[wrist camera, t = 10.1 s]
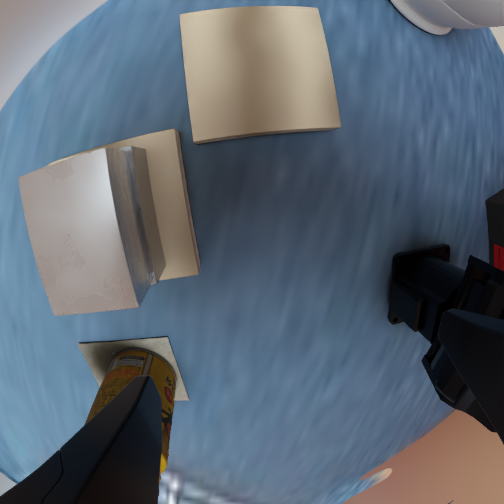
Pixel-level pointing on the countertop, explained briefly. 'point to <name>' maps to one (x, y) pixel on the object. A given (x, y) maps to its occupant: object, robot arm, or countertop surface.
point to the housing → (94, 230)
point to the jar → (452, 14)
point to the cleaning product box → (496, 229)
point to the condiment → (136, 364)
